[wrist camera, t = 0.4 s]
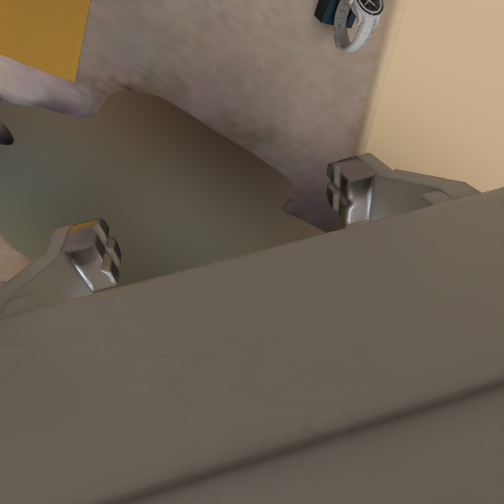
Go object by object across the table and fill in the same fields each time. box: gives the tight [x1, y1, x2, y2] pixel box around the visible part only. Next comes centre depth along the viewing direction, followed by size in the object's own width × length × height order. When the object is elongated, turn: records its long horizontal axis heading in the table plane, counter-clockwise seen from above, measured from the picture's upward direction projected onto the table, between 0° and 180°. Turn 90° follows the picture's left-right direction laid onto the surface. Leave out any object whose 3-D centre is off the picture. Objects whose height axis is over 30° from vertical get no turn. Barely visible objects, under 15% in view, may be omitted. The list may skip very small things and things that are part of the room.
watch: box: [314, 0, 384, 52], centre depth 48 cm, size 6×8×11 cm
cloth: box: [0, 0, 91, 82], centre depth 41 cm, size 13×17×1 cm
